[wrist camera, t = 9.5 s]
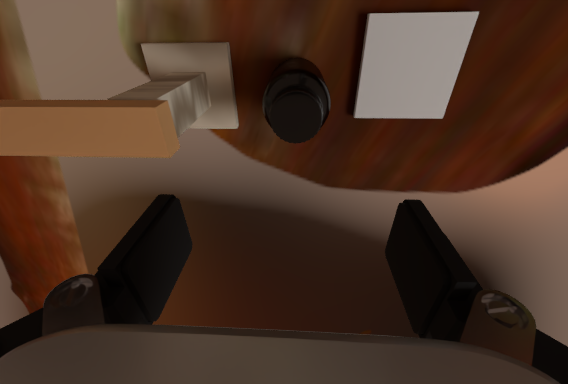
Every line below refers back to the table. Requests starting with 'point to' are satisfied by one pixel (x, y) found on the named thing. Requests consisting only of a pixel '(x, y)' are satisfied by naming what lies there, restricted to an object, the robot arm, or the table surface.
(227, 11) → the table surface
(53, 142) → the strap bar
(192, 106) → the stand
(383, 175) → the table surface
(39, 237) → the table surface
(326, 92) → the supplement bottle
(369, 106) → the grey mat
